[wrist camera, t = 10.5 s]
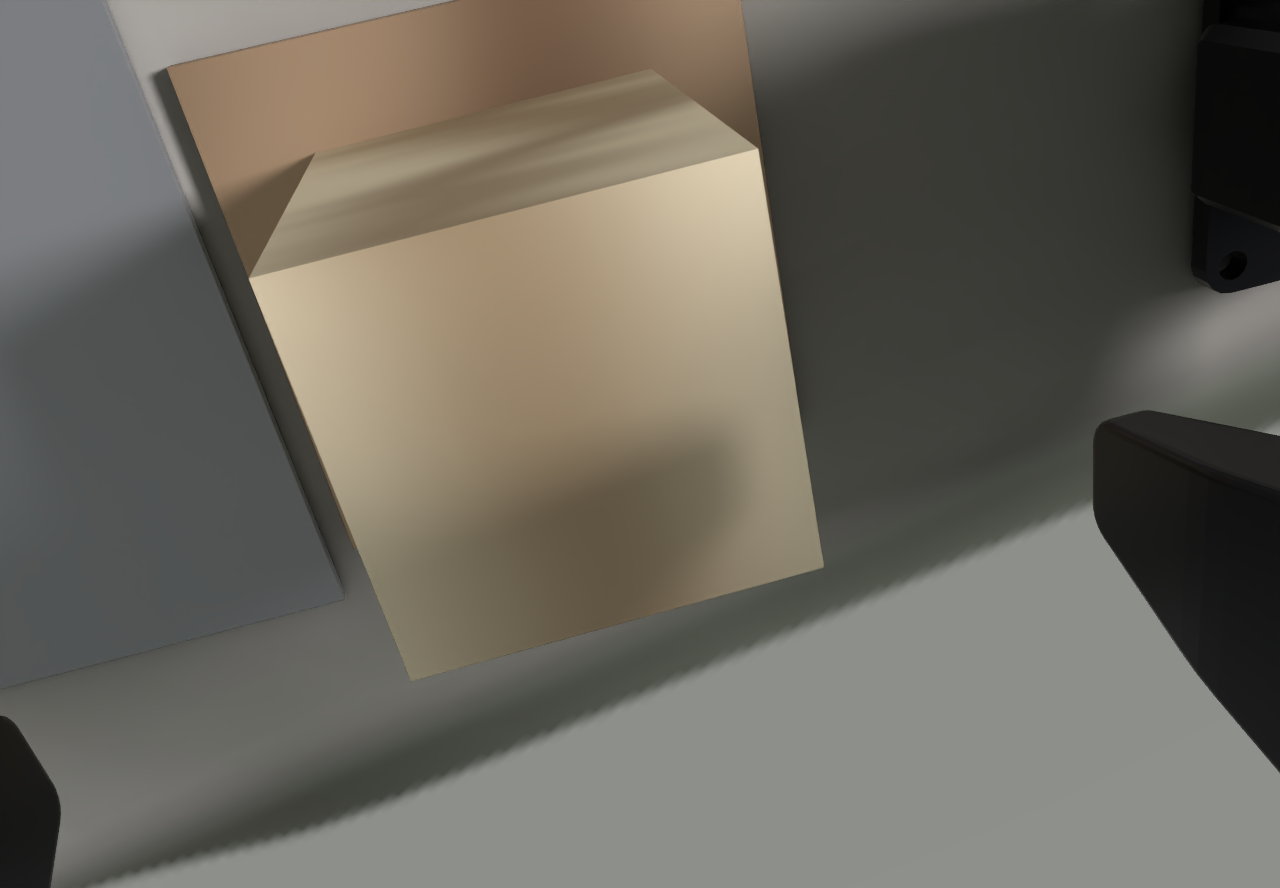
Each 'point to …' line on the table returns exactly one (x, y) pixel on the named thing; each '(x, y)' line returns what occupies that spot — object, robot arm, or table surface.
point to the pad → (438, 87)
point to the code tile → (123, 381)
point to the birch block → (545, 367)
